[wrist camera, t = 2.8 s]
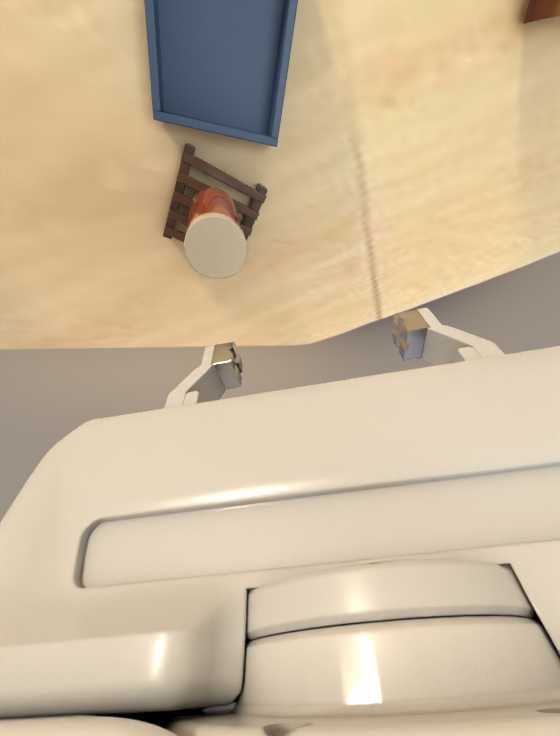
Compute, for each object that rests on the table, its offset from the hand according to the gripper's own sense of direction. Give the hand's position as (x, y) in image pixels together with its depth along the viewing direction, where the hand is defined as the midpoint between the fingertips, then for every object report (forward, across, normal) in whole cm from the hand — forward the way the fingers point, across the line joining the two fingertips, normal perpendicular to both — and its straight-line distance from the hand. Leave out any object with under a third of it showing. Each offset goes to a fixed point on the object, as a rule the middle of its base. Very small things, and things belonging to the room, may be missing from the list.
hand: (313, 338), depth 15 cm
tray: (+30, +4, -15) cm, 34 cm away
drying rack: (+30, +9, 0) cm, 31 cm away
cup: (+28, +9, 0) cm, 29 cm away
